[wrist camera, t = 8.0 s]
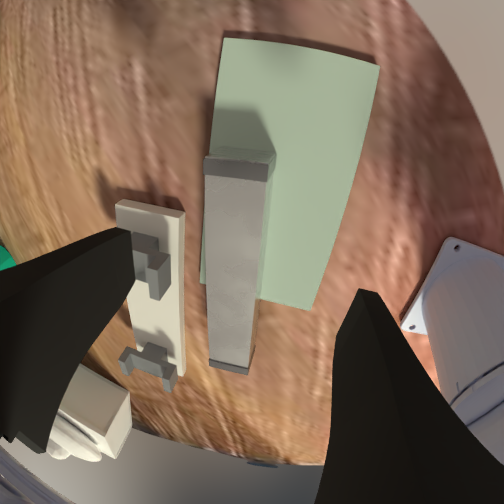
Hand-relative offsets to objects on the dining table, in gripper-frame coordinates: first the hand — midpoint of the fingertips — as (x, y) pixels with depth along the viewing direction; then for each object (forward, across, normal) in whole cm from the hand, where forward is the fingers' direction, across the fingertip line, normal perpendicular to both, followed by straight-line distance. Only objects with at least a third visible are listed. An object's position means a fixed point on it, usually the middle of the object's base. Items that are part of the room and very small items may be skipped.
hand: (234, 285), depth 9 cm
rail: (+9, +1, +6) cm, 11 cm away
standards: (+9, +8, +12) cm, 17 cm away
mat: (+9, 0, 0) cm, 9 cm away
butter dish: (+10, +25, +40) cm, 48 cm away
